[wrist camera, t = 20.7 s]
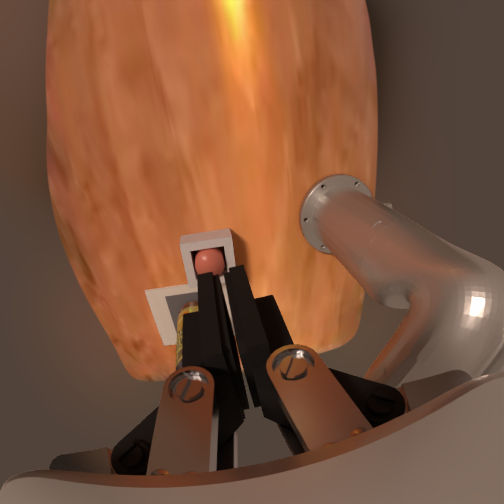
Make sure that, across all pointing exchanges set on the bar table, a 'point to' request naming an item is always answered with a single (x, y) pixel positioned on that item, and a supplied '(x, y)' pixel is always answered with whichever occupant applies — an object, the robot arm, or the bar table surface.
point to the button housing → (205, 242)
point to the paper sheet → (173, 308)
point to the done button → (209, 261)
